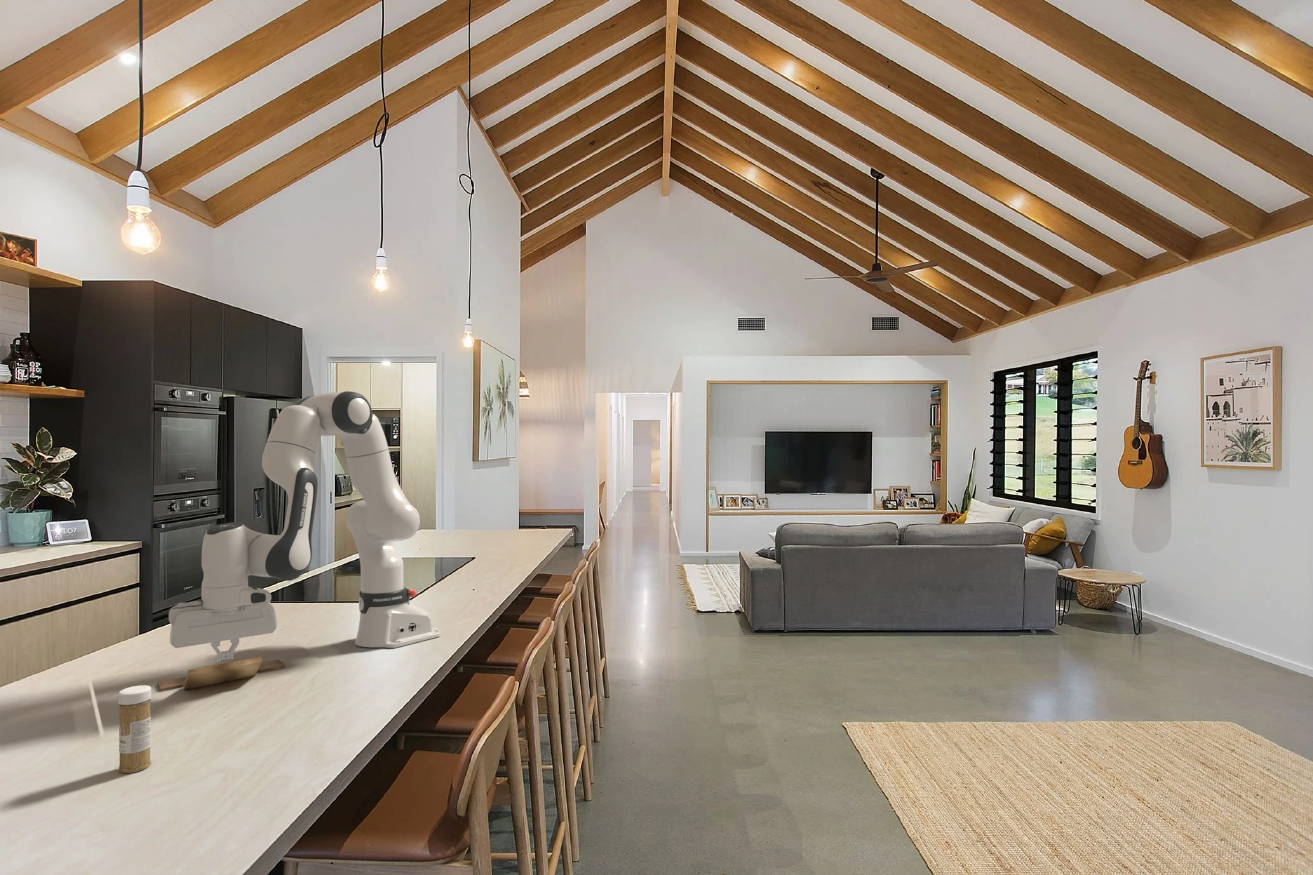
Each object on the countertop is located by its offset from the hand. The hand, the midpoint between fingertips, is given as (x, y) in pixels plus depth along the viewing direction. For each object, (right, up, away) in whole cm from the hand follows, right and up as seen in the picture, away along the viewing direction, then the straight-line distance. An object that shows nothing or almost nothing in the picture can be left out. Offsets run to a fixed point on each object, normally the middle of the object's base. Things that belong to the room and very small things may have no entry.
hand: (225, 659), depth 159 cm
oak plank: (-2, -4, +2) cm, 5 cm away
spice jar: (+7, -7, -37) cm, 38 cm away
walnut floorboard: (-6, -7, +10) cm, 14 cm away
